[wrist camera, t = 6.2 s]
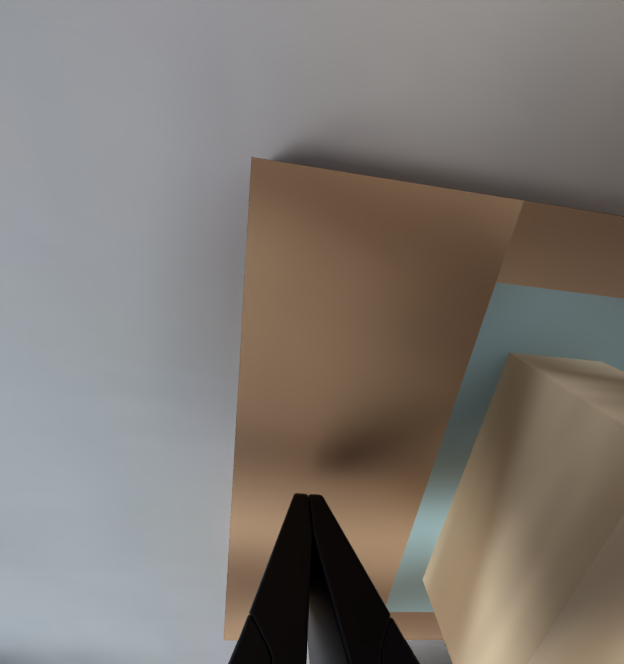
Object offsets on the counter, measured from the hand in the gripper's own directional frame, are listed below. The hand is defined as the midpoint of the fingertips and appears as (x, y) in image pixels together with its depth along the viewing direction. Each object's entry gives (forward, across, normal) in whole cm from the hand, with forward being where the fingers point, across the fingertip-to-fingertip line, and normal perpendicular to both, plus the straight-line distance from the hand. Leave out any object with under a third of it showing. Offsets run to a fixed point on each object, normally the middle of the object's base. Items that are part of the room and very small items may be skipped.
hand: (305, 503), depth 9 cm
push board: (+3, -7, 0) cm, 7 cm away
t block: (+1, -10, 0) cm, 10 cm away
